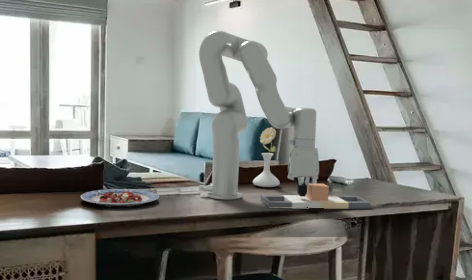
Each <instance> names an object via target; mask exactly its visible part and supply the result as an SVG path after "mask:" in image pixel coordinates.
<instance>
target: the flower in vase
mask: <svg viewBox="0 0 472 280" xmlns="http://www.w3.org/2000/svg"><path fill="white" fill-rule="evenodd" d="M276 133H277V130H276V128H274V127H273V126H270V127H267V128H265V129H264V130H263V131H262V132H261V134H260V136H259V139H260V140H259V142H260V143H261V144H262V146H263V147H264V148H265V149H266V150H267V151H268V152H262V153H261V156H262V158H263V162H264V163H263V164H264V165H263V171H262V172H261V173H260V174H259V175H257V176H256V177H255V178H254V179H253V180H252V183H253V185H255V186H256V187H257V186H258V187H261V188H274V187H277V186H280V180H279V179H278V178H277V177H276V176H275V175H274V174H273V173H272V172H271V170H270V169H271V168H270V166H271V165H270V164H271V159H272V157H273V156H274V153H273V152H277V149H276V146H273V142H272V141H273V140H274V139H275V138H276ZM267 144H270V148H269V147H267V146H265V145H267Z"/></svg>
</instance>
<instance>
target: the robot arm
mask: <svg viewBox="0 0 472 280" xmlns="http://www.w3.org/2000/svg"><path fill="white" fill-rule="evenodd" d="M198 52H199V53H198V57H199V62H200V67H201V70H202V75H203V80H204V85H205V88H206V92H207V98H208V100H209V103H210V104H211V105H212V106H213V107H216V108H219V112H217V113H216V115H214V118H213V120H212V123H211V131H212V132H211V133H212V144H213V145H212V170H211V171H212V175H211V177H212V178H211V182H210V183H209V184H207V185H199V186H198V191H200V192H207V193H206V194H207V195H206V197H208V198H210V199H214V200H228V201H229V200H238V199H241V198H242V197H243V195H242V194H243V193H241V192H239V190H238V189H239V168H240V166H239V165H240V141H239V135H241V134H242V133H244V131H246V129H247V126H248V119H247V113H246V109H245V106H244V101H243V97H242V94H241V93H242V92H241V91H240V89H239V87H238V86H237V85H236V84H234V83H233V82H230V80H229V76H228V73H227V69H226V65H225V64H224V63H225V62H224V60H223V57H226V58H228V59H232V60H235V61H238V62H240V63H241V64H242V66H243V68H244V69H245V71H246V73H247V75H248V78H249V79H250V81H251V83H252V85H253V87H254V89H255V93H256V97H257V100H258V103H259V105H260V108H261V110H262V111H263V113H264V115H265V117H266V119H267V122H269V124H270V125H271V127H272V128H274V129H277V130H279V129H287V128H288V129H289V128H293V138H292V139H290V140H289V145H292V146H291V148H290V152H289V158H288V165H287V172H288V175H287V179H288V180H291V181H294V182H295V183H296V184H297V195H298V194H299V196H301V197H302V196H304V197H305V196H306V194H307V185H308V184H309V183H310V182H311V181H312V180H316V179H317V180H318V179H319V175H320V174H319V173H320V162H319V161H320V160H319V150H318V147H316V132H317V131H316V130H317V129H316V128H317V110H316V109H315V108H311V107H310V108H309V107H297V108H295V107H290V106H285V103H284V102H283V100H282V98H281V96H280V93H279V90H278V87H277V81H278V79H277V76H276V75H277V74H276V73H275V71H274V69H273V68H272V66H271V64H270V62H269V60H268V50H267V48H266V46H264V45H263V44H262V43H260V42H258V41H255V40H249V39H246V38H242V37H240V36H237V35H234V34H231V33H229V32H226V31H223V30H215V31H212V32H210V33H208V34H207V35H206V36H205V37H204V38H203V40H202V41H201V43H200V46H199V51H198ZM301 177H304V180H303V184H302V178H301Z"/></svg>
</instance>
